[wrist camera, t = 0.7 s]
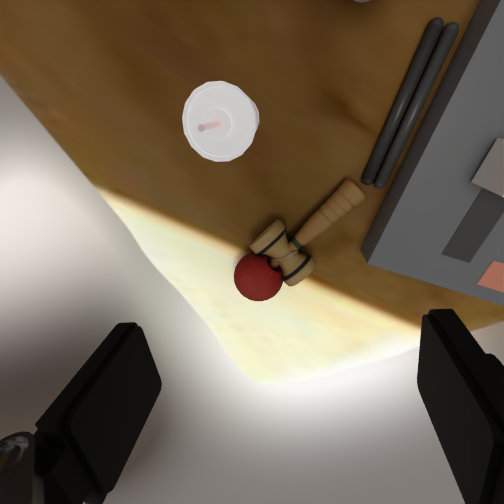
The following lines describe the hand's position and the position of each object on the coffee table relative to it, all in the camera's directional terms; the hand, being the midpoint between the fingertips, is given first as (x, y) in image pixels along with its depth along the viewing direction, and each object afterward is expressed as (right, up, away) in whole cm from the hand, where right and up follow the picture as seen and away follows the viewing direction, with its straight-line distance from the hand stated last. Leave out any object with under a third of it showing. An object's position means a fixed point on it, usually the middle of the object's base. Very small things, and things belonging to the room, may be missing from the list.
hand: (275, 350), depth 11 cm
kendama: (+5, +6, +28) cm, 29 cm away
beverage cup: (-2, +18, +23) cm, 29 cm away
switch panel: (+22, +13, +21) cm, 33 cm away
